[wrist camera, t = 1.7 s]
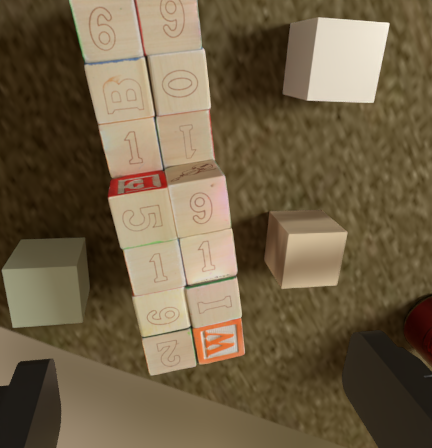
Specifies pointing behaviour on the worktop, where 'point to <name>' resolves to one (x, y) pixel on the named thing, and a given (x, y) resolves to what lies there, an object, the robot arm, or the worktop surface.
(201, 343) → the stack of blocks
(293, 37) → the off-white cube
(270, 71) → the worktop surface
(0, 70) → the worktop surface
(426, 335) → the soda can
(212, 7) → the worktop surface
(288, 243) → the birch cube
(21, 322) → the sage cube
